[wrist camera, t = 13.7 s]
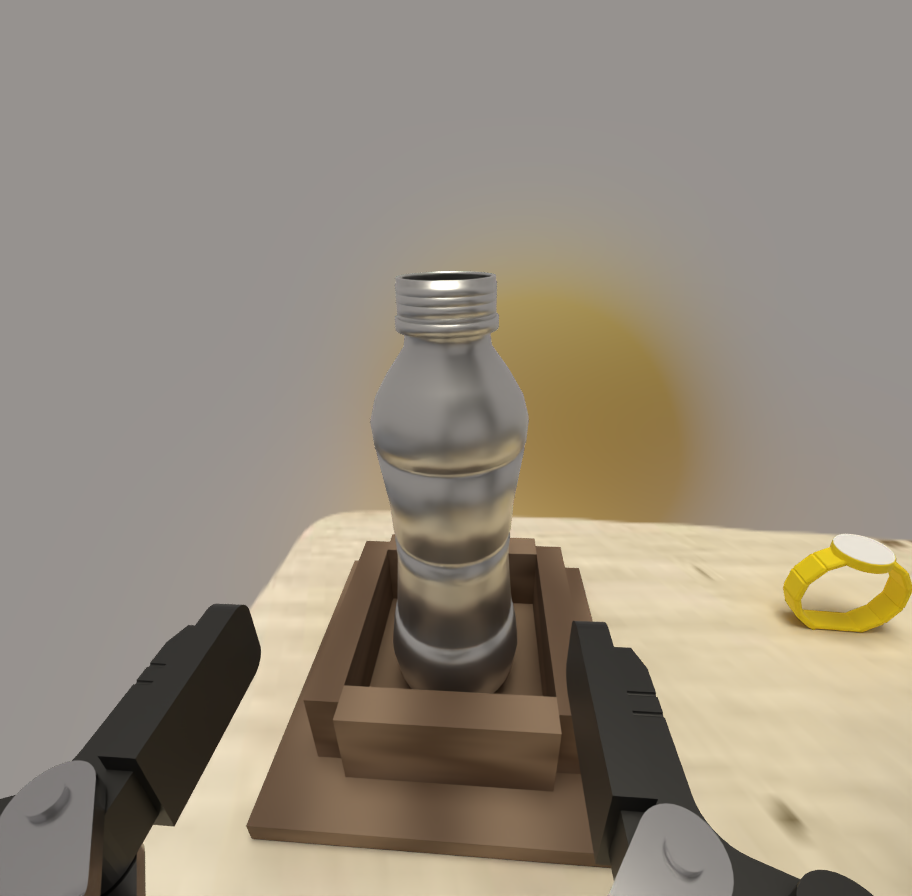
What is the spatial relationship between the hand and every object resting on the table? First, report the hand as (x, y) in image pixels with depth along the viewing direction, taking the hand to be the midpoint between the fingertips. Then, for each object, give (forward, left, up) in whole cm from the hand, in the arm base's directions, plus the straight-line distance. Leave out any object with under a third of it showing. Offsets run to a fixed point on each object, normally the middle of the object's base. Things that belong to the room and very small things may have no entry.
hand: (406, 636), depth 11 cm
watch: (-23, -14, -14) cm, 31 cm away
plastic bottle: (0, -9, -13) cm, 15 cm away
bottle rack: (0, -9, -13) cm, 16 cm away
